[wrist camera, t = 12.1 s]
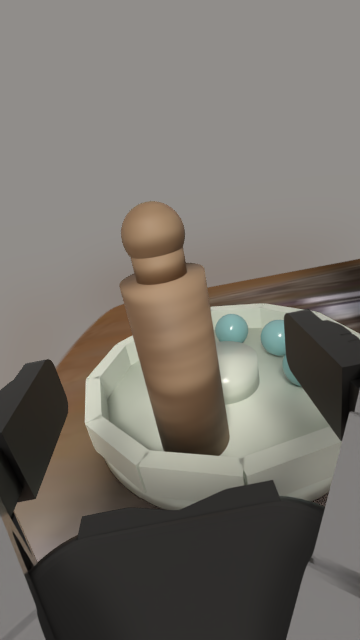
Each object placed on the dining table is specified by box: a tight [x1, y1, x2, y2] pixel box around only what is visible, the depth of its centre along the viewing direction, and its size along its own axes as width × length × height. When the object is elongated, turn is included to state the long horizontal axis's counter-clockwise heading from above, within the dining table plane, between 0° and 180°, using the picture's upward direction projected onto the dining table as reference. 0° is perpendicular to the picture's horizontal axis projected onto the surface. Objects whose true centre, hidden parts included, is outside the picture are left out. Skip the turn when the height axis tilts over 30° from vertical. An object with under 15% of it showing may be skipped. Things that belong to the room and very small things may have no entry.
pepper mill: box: [120, 201, 230, 456], centre depth 17 cm, size 4×4×13 cm
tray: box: [85, 303, 360, 510], centre depth 23 cm, size 19×19×4 cm
